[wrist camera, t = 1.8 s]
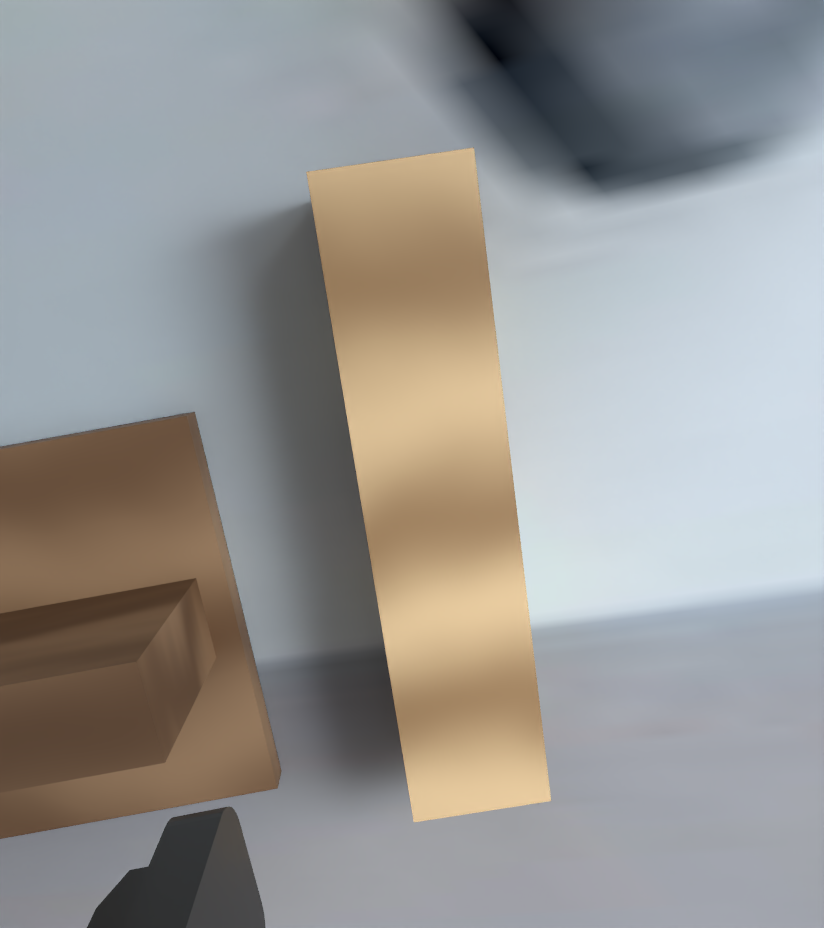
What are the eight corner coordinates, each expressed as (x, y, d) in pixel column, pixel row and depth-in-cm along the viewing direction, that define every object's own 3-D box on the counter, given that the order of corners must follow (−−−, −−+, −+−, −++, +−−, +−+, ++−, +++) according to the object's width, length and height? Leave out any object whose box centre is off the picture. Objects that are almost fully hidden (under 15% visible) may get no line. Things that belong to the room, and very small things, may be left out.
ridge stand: (-184, 479, 24) (-409, 544, 17) (194, 411, 24) (120, 450, 17) (-56, 832, 27) (-205, 1008, 20) (281, 771, 27) (247, 926, 20)
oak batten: (320, 199, 23) (306, 171, 19) (456, 179, 23) (474, 147, 19) (408, 740, 27) (413, 822, 23) (523, 723, 27) (551, 800, 23)
